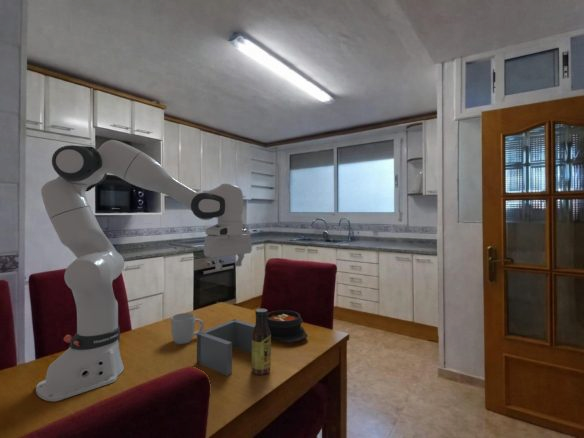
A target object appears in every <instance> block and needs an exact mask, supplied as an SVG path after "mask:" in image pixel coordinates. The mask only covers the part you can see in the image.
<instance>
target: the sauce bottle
mask: <svg viewBox="0 0 584 438" xmlns="http://www.w3.org/2000/svg"><path fill="white" fill-rule="evenodd" d="M268 313H269V312H268V309H266V308H257V309H256V310H255V313H254V314H255V324H254V325H255V327H254V328H253V331H252V354H251V371H252V372H253V374H255V375H260V376H262V375H266V374H268V373H269V372H270V371H271V366H272V363H271V362H272V359H271V358H272V352H271V351H272V338H271V333H270V330H269V327H268V324H267V315H268Z"/></svg>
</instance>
